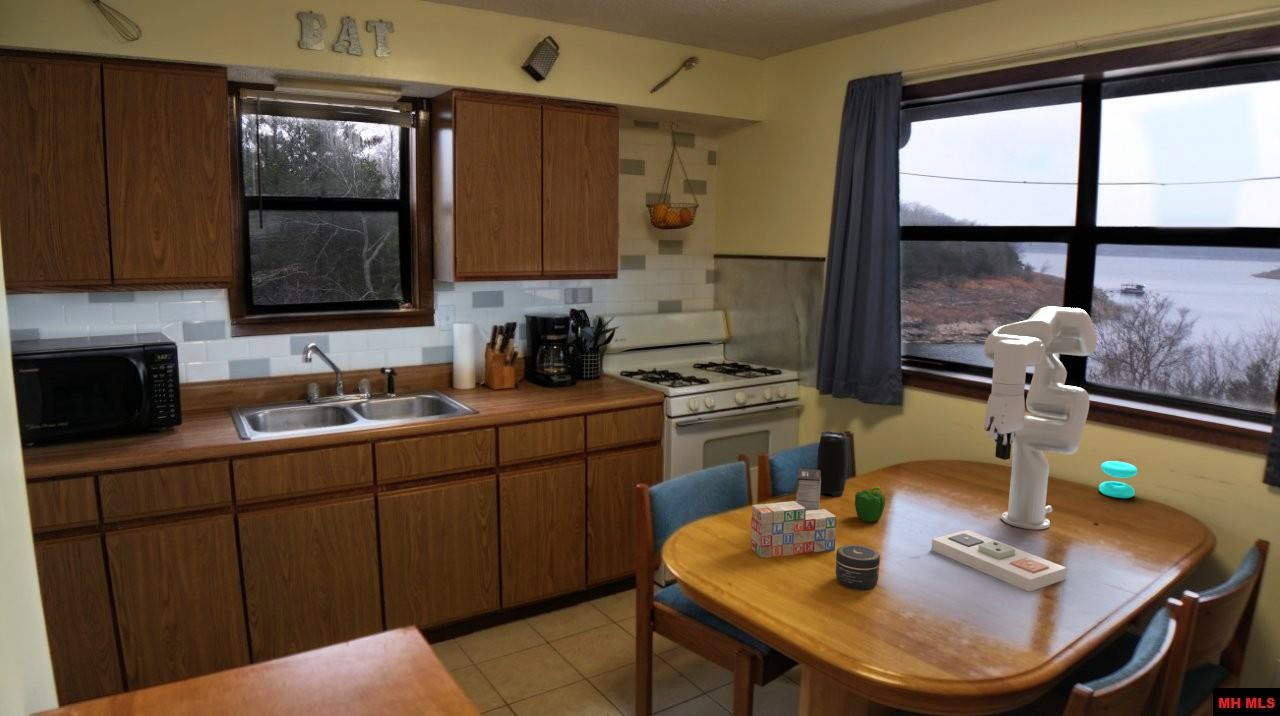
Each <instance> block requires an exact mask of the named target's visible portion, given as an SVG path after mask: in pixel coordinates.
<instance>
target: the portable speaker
mask: <svg viewBox="0 0 1280 716" xmlns="http://www.w3.org/2000/svg"><path fill="white" fill-rule="evenodd" d="M820 435H821V436H820V439H819V444H818V449H817V460H816V461H817V463H816V470H820V471H821V486H820V496H821V495H824V494H828V495H830V496H832V498H833V497H834V498H837V497H841V496H843V494H844V492H845V488H846V487H845V486H846V481H847V474H848V464H849V462H848V461H849V449H848V441H847V433H845V432H841V431H839V432H835V431H834V432H833V431H830V430H824V431H822V432H821V434H820Z"/></svg>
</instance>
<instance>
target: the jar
mask: <svg viewBox="0 0 1280 716" xmlns="http://www.w3.org/2000/svg"><path fill="white" fill-rule="evenodd" d="M880 557H881V555H880V553H879V552H878V551H877V550H876V549H874V548H872V547H869V546H865V545H862V544H845V545H841V546H839V547H838V548H837V550H836V556H835V561H836V562H835V577H836V580H837V582H838V583H839V584H840V585H841V586H843V587H845V588H848V589H849V590H850V589H851V590H856V591H869V590H871V589H874V588H875V586H876V585H877V583H878V581H879V574H880V572H879V571H880V564H881V562H880V561H881V558H880Z"/></svg>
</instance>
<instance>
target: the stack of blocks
mask: <svg viewBox="0 0 1280 716" xmlns="http://www.w3.org/2000/svg"><path fill="white" fill-rule="evenodd" d="M751 507H752V509H751V513H752V514H751V525H750V527H751V532H750V533H751V537H750V538H751V539H750V549H751V550H752V551H753V553H755V554H756V555H757V556H758V557H759V558H760V559H762V558H763V557H765V558H774V557H785V555H786V556H793V555H800V554H799V553H802V554H809V552H811V553H818V552H828V551H835V550H836V542H837V541H836V540H837V539H836V538H837V537H836V536H837V516H836V515H835V514H833V513H832V512H830V511H828V510H827V509H826V508H822V509H820V508H819V510H808V511H806V508H804V507H803V506H801V505H799V504H798V503H797V502H796V500H790V501H781V502H774V503H764V504H763V503H762V504H761V503H760V504H752V506H751ZM763 559H764V558H763Z"/></svg>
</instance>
